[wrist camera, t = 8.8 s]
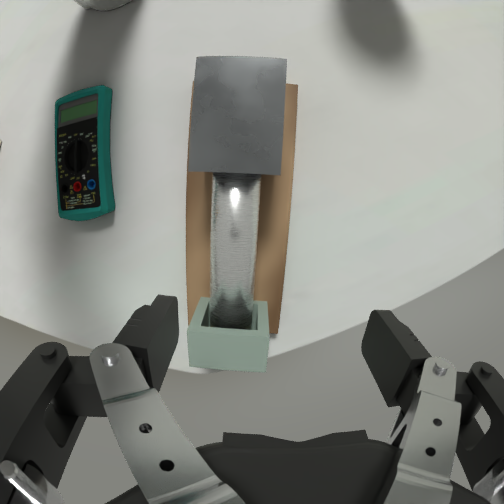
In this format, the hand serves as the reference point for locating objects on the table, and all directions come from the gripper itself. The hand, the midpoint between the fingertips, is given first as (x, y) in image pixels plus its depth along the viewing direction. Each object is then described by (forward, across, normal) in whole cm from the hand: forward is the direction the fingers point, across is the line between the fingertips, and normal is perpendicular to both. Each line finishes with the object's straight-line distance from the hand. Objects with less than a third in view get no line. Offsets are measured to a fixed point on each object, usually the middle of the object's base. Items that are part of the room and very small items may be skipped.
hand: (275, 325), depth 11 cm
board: (+19, +2, -1) cm, 19 cm away
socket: (+17, +2, +10) cm, 20 cm away
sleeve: (+17, +3, -10) cm, 20 cm away
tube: (+16, +3, +1) cm, 16 cm away
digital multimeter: (+20, +20, -7) cm, 29 cm away
